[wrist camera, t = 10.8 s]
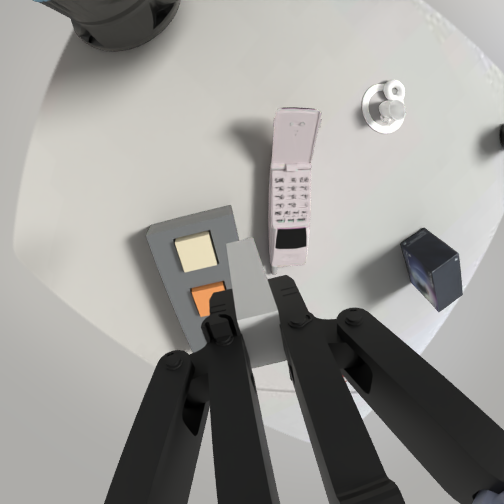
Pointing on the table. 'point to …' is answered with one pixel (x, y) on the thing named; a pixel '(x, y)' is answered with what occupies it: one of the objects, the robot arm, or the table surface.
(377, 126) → the white candle holder
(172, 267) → the button console
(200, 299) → the orange button
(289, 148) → the mobile phone
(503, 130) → the supplement container
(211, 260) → the sand button
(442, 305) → the small box
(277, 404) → the table surface
